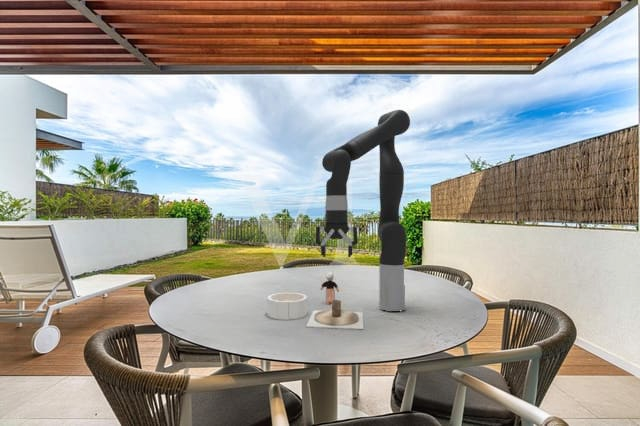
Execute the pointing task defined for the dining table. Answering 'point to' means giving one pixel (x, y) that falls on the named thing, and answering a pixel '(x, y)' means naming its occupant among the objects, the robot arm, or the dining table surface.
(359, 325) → the mat
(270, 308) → the bowl
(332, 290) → the grandmother figurine
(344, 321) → the lid
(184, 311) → the dining table surface
